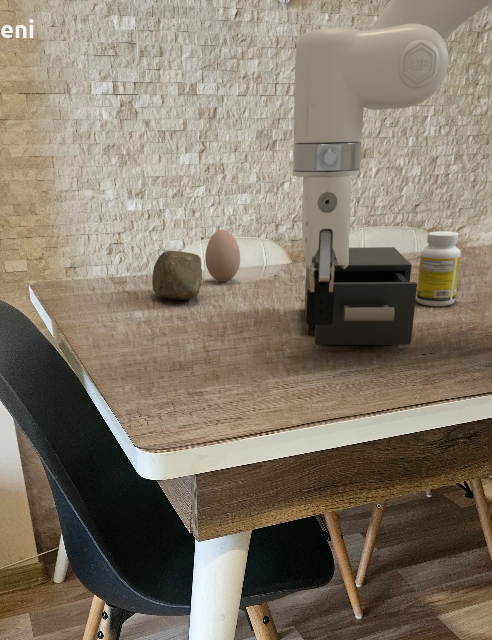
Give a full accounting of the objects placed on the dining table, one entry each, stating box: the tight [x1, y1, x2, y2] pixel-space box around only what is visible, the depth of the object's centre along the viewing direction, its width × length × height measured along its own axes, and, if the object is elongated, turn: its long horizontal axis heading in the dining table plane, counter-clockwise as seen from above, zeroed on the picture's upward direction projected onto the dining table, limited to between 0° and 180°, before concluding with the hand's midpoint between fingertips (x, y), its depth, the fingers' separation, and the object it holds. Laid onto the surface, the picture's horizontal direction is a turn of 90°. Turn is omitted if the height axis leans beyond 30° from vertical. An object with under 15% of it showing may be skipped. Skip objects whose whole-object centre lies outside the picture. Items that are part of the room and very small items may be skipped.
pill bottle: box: [416, 230, 462, 307], centre depth 109 cm, size 6×6×11 cm
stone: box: [151, 250, 203, 301], centre depth 117 cm, size 17×9×8 cm, turn 20°
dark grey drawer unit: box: [304, 246, 413, 336], centre depth 99 cm, size 16×14×10 cm
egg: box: [204, 229, 241, 283], centre depth 129 cm, size 7×7×10 cm
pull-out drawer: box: [314, 271, 418, 346], centre depth 90 cm, size 19×12×8 cm, turn 175°
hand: (319, 323), depth 83 cm, fingers closed
